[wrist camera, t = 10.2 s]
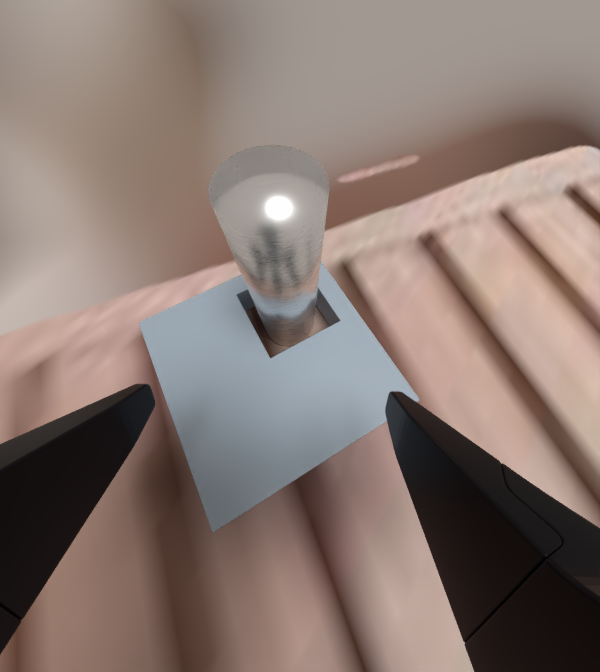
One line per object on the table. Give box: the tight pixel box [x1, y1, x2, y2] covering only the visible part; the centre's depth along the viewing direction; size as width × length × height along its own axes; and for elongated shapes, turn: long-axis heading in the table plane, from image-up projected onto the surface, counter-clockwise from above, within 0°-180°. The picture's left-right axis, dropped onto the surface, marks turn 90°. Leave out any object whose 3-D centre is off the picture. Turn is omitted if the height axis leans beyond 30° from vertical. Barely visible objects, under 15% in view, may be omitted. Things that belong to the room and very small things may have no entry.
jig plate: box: [139, 262, 420, 533], centre depth 18 cm, size 15×15×3 cm
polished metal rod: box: [209, 145, 329, 346], centre depth 14 cm, size 4×4×13 cm
